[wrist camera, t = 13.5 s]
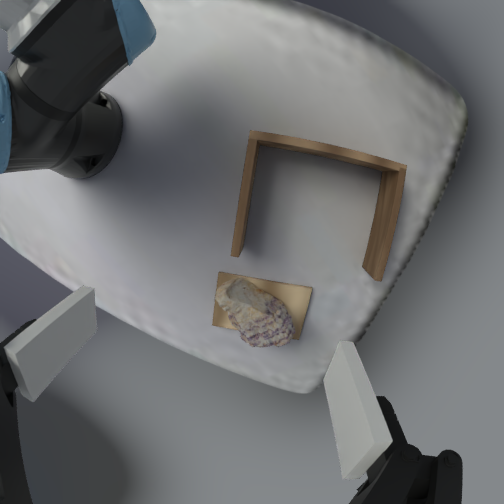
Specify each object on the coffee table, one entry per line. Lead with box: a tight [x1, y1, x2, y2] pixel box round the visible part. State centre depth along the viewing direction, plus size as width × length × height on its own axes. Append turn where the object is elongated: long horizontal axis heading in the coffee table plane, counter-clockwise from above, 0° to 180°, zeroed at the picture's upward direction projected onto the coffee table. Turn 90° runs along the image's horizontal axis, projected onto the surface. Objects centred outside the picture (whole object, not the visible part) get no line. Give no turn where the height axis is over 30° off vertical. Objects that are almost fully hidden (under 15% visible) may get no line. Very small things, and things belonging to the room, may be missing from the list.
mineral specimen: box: [215, 277, 295, 347], centre depth 40 cm, size 13×7×6 cm, turn 57°
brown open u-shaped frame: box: [231, 130, 407, 281], centre depth 36 cm, size 20×16×6 cm
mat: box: [212, 272, 312, 340], centre depth 43 cm, size 14×9×1 cm, turn 81°
